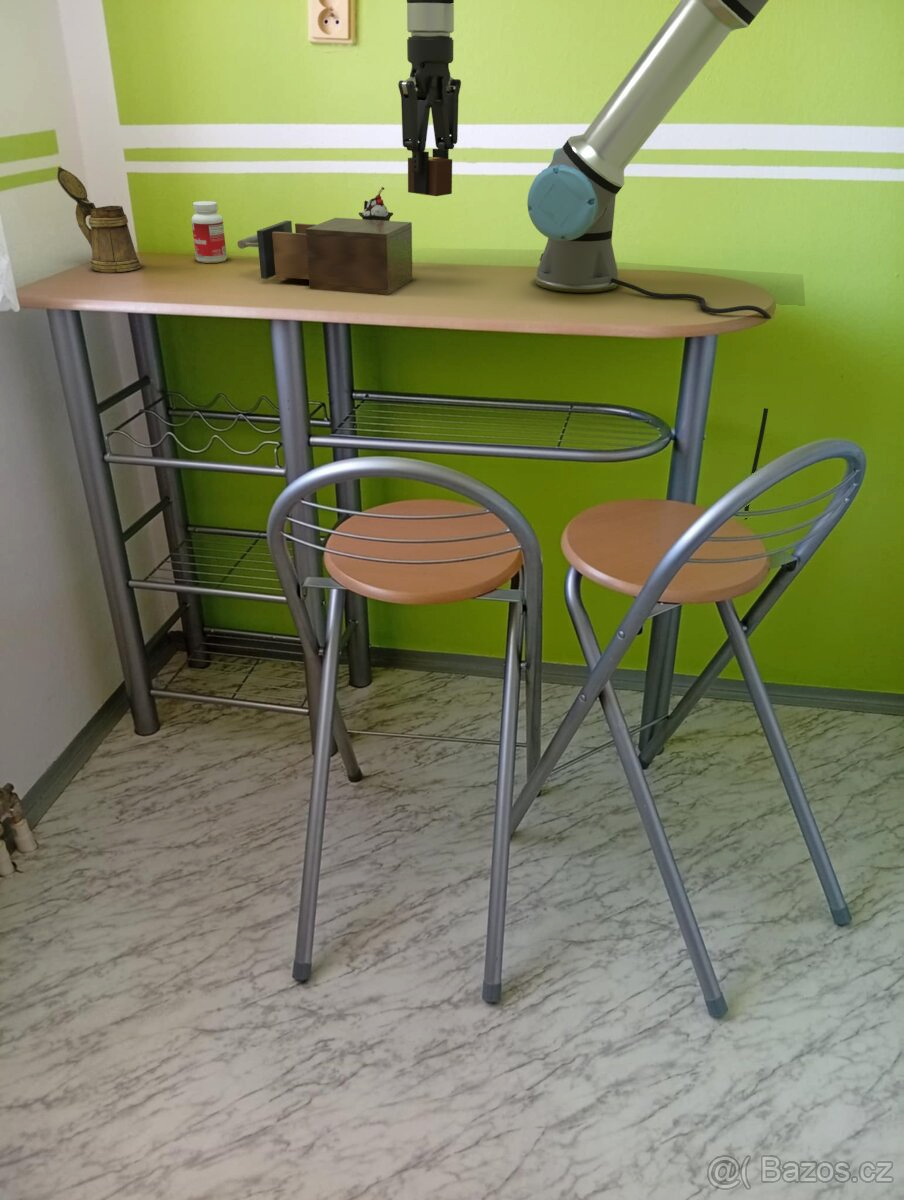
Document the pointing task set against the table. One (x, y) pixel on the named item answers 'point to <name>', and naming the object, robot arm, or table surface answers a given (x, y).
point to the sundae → (375, 209)
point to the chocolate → (434, 176)
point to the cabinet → (359, 255)
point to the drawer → (281, 250)
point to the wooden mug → (102, 229)
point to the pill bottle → (208, 233)
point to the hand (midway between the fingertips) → (430, 191)
